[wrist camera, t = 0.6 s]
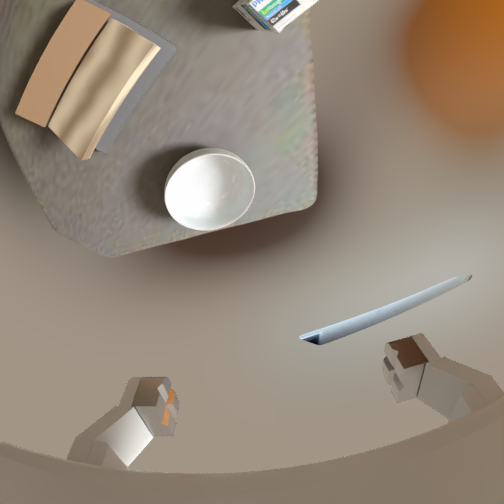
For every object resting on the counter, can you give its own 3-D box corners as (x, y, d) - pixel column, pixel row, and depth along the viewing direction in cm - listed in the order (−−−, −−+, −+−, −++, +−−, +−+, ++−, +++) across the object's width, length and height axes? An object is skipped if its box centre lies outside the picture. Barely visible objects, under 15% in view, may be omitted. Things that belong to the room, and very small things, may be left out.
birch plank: (56, 125, 41) (48, 126, 39) (118, 21, 33) (111, 17, 31) (89, 158, 42) (81, 160, 40) (161, 47, 34) (154, 44, 32)
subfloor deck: (24, 106, 39) (13, 116, 35) (87, -4, 30) (79, -5, 26) (107, 147, 50) (104, 159, 47) (177, 46, 42) (179, 49, 38)
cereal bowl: (227, 123, 54) (235, 137, 49) (257, 188, 66) (267, 207, 61) (147, 165, 55) (146, 183, 51) (187, 222, 67) (190, 243, 63)
